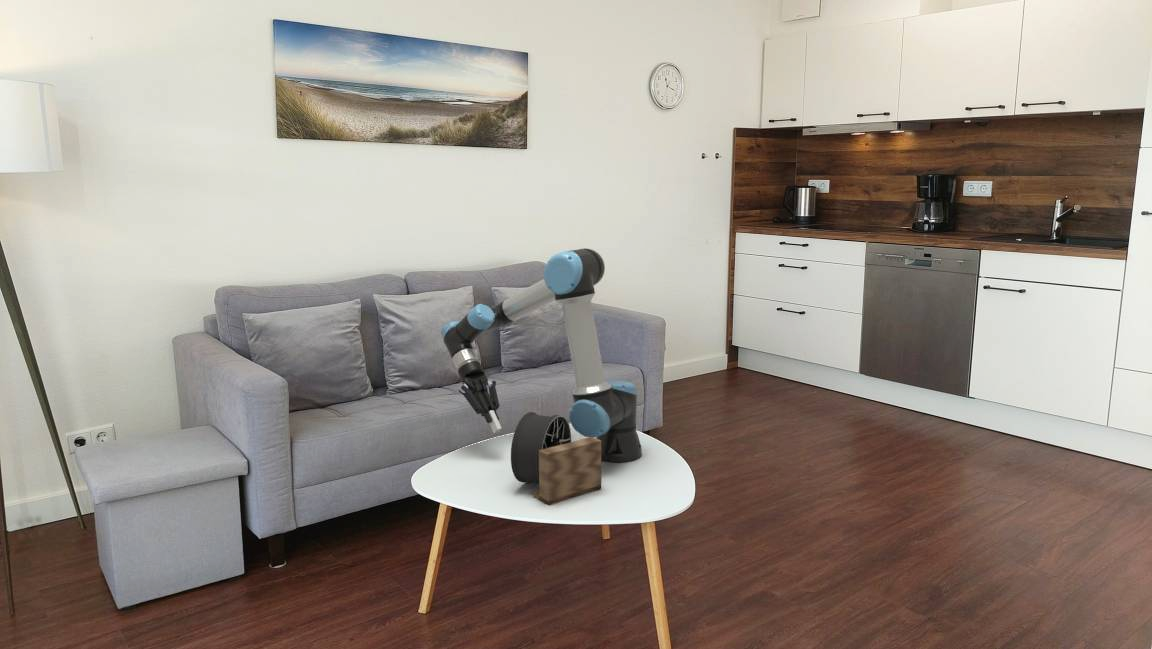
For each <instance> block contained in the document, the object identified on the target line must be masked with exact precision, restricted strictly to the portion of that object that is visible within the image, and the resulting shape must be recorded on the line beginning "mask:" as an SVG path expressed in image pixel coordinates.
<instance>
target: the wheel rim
mask: <svg viewBox="0 0 1152 649" xmlns="http://www.w3.org/2000/svg"><path fill="white" fill-rule="evenodd" d="M570 442H572V432H571V427H570V423H569V421H568V419H567V418H566V417H565V416H564V415H562V414H554V415H552V416H549V415H540V414H538V413H536V412H534V411H529V412H526V413H525V414H524V415H523V416H522V417H521V418H520V419H519V422H518V423H517V425H516V427H515V430H514V432H513V436H512V440H511V447H510V466H511V471H512V473H513V477H514V478H515V479H516V481H518V482H519V483H521V484H522V483H524V484H525V483H527V482H531V483H537V484H539V450H542V449H546V448H550V447H554V446H558V445H562V444H566V443H570Z"/></svg>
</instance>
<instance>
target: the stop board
mask: <svg viewBox="0 0 1152 649" xmlns="http://www.w3.org/2000/svg"><path fill="white" fill-rule="evenodd" d="M538 489H539V490H538V491H535V492H532V497H533V498H534V499H536V500H537V501H539V502H541V503H543V504H545V505H547V506H550V505H554V504H557V503H560V502H563V501H567V500H571V499H574V498H576V497H579V496H583V495H587V494H590V493H593V492H596V491H595V490H597V491H600V490H602V460H601V440H599V439H596V437H586V438H582V439H579V440H574V441H571V442H570V443H566V444H562V445H558V446H554V447H550V448H546V449H542V450H539V483H538ZM599 489H600V490H599ZM592 491H593V492H592ZM589 492H590V493H589ZM586 493H587V494H586ZM573 497H574V498H573Z"/></svg>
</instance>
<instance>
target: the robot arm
mask: <svg viewBox="0 0 1152 649" xmlns="http://www.w3.org/2000/svg"><path fill="white" fill-rule="evenodd" d="M605 267H606V266H605V262H604V259H603V257H602V255H600V253H599V252H597V251H596V250H594V249H590V248H585V247H584V248H579V249H573V250H564V251H561V252H558V253H555V254H554V255H552V256H551V257H550V258H549V260H548V261H547V262H546V264H545V266H544V271H543V279H541V280H539V281H537V282H536V283H534V284H532V285H529V286H528V287H527V288H524V289H522V290H521V291H520V292H517V293H515V294H514V295H511V296H510V297H508V298H506V299H504V300H503V301H501V302H499V303H497V304H496V305H493V306H488V305H486V304H483V303H479V304H477V305H475V306H474V307H473V308H471V309H470V310H469V311H468V312H467V314H466V315H465V316H464V317H463V318H462V319H461V320H460V321H459V320H454V321H450V322H448V323H447V324H445V325H443V327H442V328H441V331H440V334H441V337H442V339H443V340H442V341H443V343H444V345H445V347H446V349H447V351H448V352H449V355H450V357H451V360H452V362H453V364H454V367H455V370H456V371H457V374H458V376H459V378H460V380H461V382H462V385H461V387H459V389H458V392H459V393H460V395H462V396H463V397H464V398H465V399H466V401H467V402H468V404H469V405H470V406H471V408H472V409H473V410H474V412H475V413H476V414H477V415H480V416H481V417H484V419H485V421H486V423H487V424H489V426H490V427H491V430H492V433H493V434H498V433H500V431H501V430H502V429H503V428H502V425H501V424H500V421H499V420H500V417H499V415H498V413H497V411H498V409H499V408H500V402H499V397H498V393H497V389H496V388H497V387H496V385H497V381H496V380H488V377H487V376H486V375H485V372H484V371H485V370H484V369H483V366H482V364H481V362H480V360H479V357H478V356H477V352H476V351H475V349H474V346H473V343H474V342H475V341H476V340H477V339H478V338H479V337H480V336H481V335H483V334H486V333H489V332H493V331H495V330H497V329H498V330H499V329H503V328H504V329H505V328H507V327H510V326H512V325H513V324H514V323H516V321H518V320H519V319H521V318H523V317H525V316H528V315H529V314H531V313H534V312H535V311H537V310H539V309H541V308H542V307H544V306H547V305H548V304H550V303H553V302H554V301H555V302H557V303H558V304H559V305H560V306H561V310H562V314H563V319H564V320H563V321H564V324H565V332H566V337H567V341H568V347H569V353H570V357H571V358H570V359H571V363H572V370H573V374H574V375H573V376H574V380H575V387H574V389H573V391H572V399H573V404H572V405H571V408H570V409H569V415H568V416H569V421H570V424H571V426H572V428H573V429H574V431H575V432H577V433H579V434H580V436H583V437H586V438H590V437H593V438H596V439H599V440H601V461H603V462H611V463H625V462H626V463H627V462H632V461H635V460H638V459H639V458H641V457H642V445H641V442H640V438H639V435H638V432H637V398H638V397H637V396H638V394H637V386H636V385H635V384H634V383H633V382H629V381H624V380H623V381H621V380H606V378H605V377H606V376H605V373H604V368H603V367H604V366H603V361H602V357H601V350H600V345H599V339H598V338H599V337H598V333H597V327H596V321H595V316H594V311H593V304H592V300H593V298H594V296H595V294H596V292H595V286H596V285H597V284H599V282H600V281H601V280H602V278H603V277H604V274H605Z"/></svg>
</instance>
